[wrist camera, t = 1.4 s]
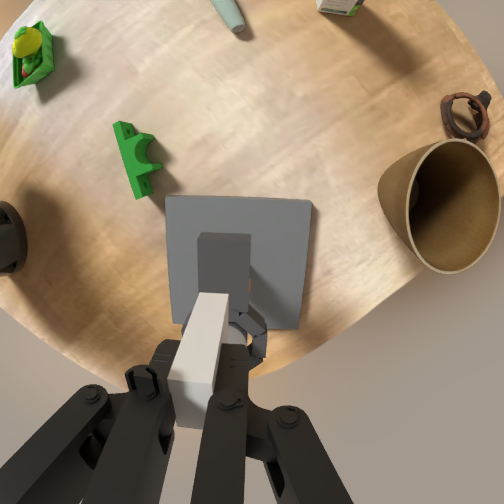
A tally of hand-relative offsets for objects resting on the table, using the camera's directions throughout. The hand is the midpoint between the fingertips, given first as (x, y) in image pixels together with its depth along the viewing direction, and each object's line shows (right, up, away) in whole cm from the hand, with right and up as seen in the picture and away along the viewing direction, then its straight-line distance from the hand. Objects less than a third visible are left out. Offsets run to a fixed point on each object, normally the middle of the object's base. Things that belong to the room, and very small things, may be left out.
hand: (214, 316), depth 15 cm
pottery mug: (+37, +26, +20) cm, 50 cm away
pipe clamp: (-13, +17, +23) cm, 32 cm away
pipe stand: (0, +2, +28) cm, 28 cm away
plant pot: (+24, +13, +24) cm, 37 cm away
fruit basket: (-35, +38, +16) cm, 54 cm away
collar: (0, -1, +10) cm, 10 cm away
